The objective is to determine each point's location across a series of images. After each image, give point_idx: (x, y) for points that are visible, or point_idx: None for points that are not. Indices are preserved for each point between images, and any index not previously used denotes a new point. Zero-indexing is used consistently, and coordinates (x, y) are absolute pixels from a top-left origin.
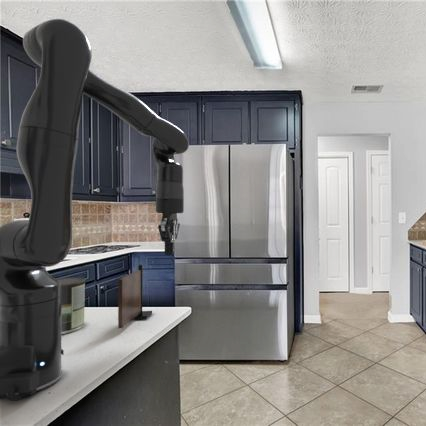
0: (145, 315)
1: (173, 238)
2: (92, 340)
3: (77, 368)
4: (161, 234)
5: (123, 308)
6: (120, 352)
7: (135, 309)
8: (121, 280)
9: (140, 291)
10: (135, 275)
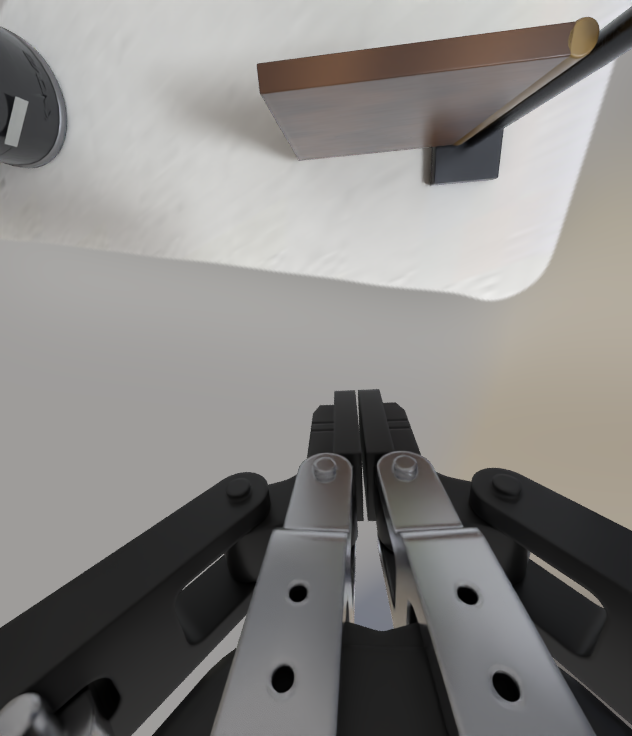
0: (440, 176)
1: (383, 561)
2: (251, 84)
3: (93, 172)
4: (110, 574)
5: (302, 143)
6: (180, 236)
7: (419, 140)
8: (260, 91)
9: (499, 116)
10: (474, 75)
